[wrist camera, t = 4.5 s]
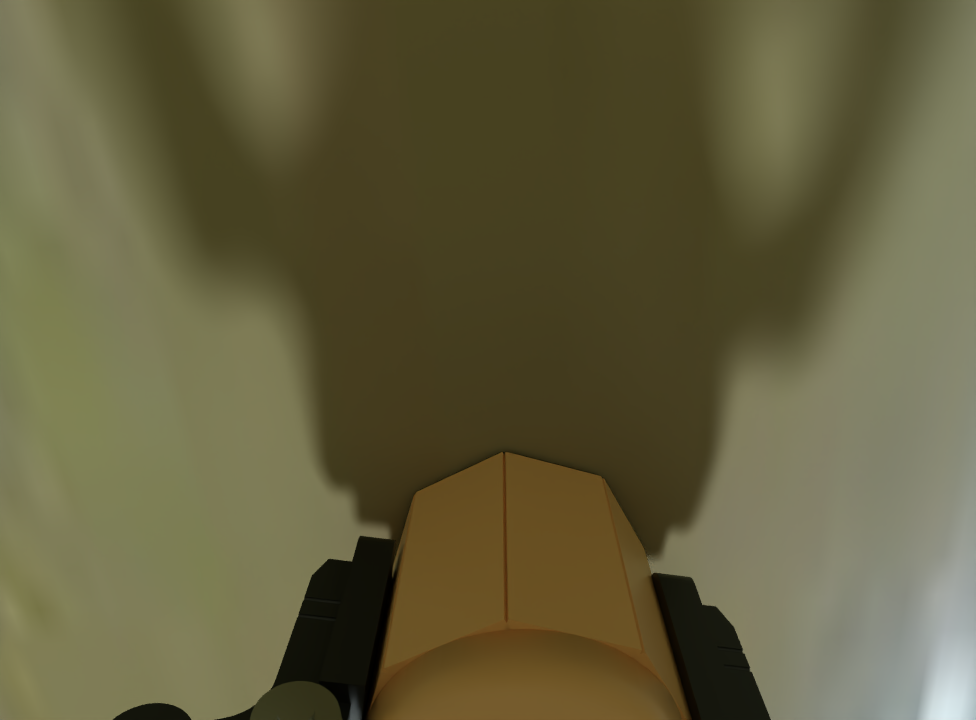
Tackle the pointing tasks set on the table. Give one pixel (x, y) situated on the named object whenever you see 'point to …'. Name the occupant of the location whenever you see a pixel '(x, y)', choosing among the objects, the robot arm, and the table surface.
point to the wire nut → (522, 605)
